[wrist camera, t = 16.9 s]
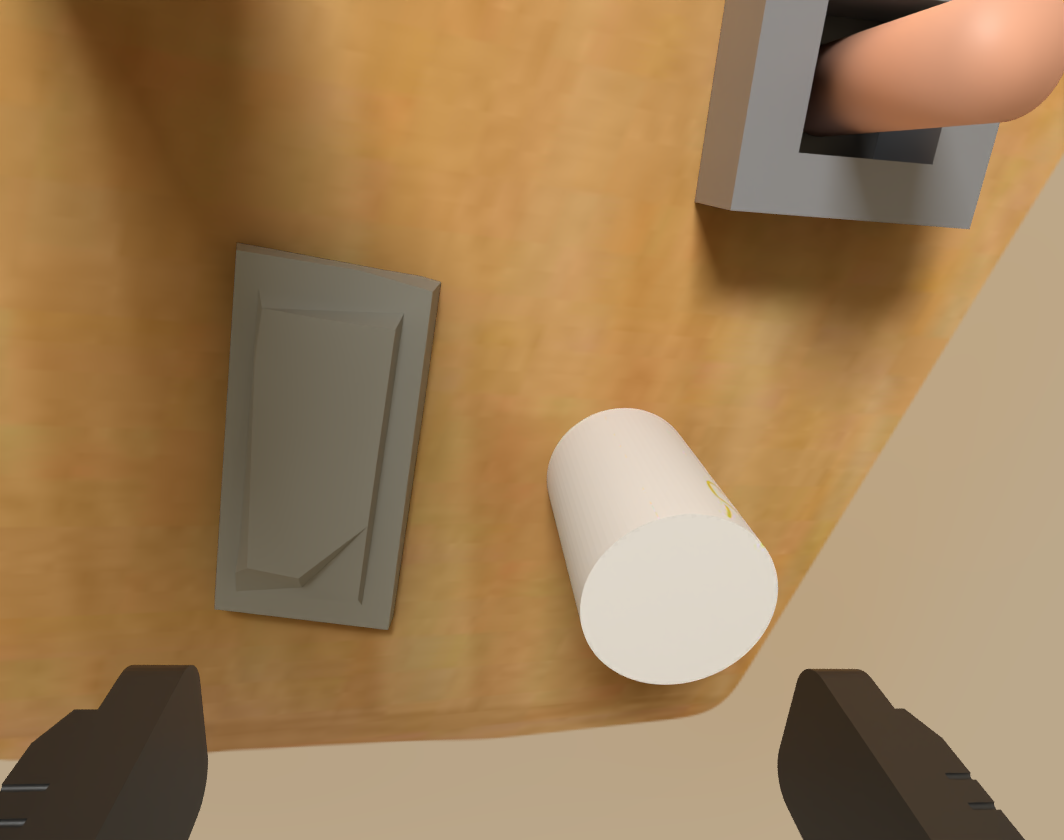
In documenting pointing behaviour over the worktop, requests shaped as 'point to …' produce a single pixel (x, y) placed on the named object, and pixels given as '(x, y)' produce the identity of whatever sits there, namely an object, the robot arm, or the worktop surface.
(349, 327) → the soap mold
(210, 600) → the worktop surface
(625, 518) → the white patterned cylinder
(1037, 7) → the peg
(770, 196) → the socket block
